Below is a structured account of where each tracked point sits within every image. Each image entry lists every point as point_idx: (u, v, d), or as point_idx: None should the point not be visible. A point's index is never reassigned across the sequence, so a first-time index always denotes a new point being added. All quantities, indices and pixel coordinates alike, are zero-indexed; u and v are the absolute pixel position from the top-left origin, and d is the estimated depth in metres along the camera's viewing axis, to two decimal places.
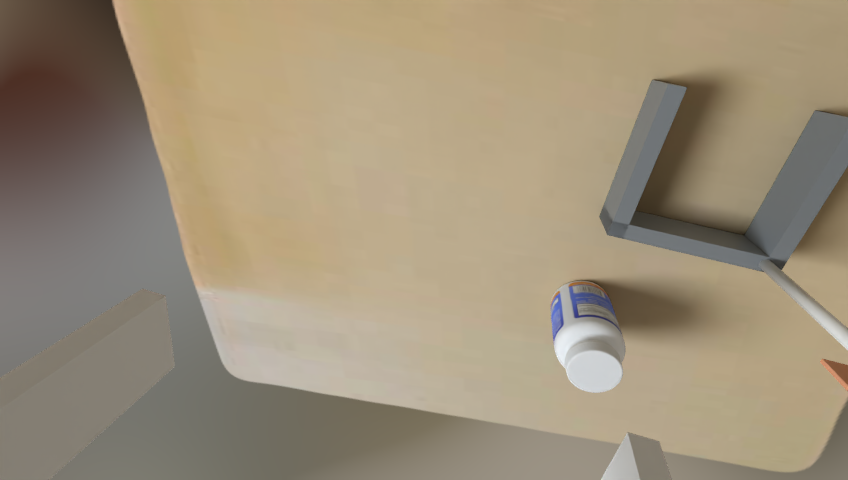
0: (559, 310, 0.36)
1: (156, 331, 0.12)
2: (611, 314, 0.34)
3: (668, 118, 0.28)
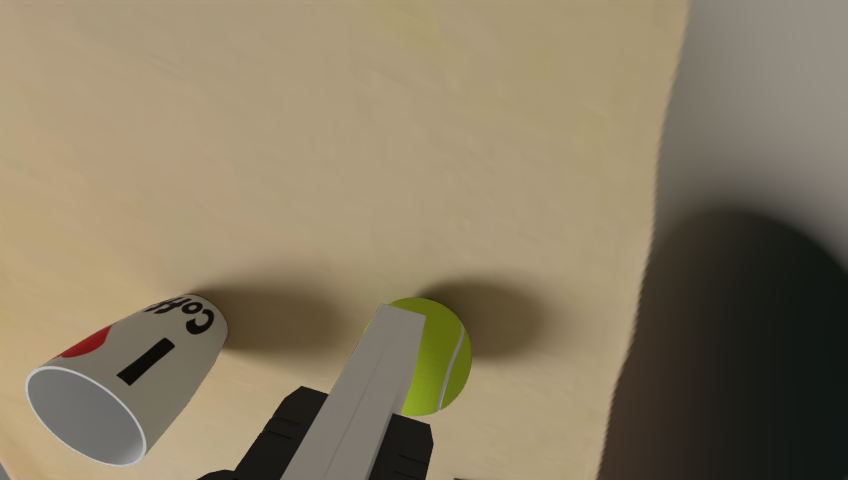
0: None
1: None
2: None
3: None
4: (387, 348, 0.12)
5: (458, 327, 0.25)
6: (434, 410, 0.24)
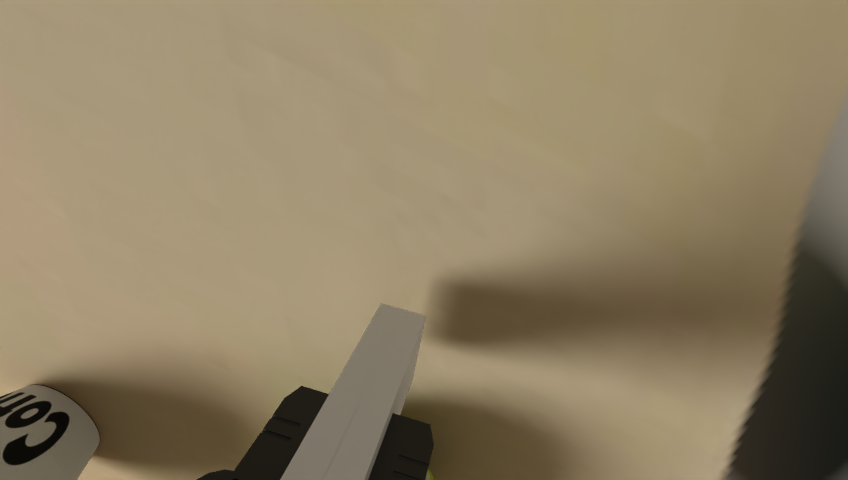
0: None
1: None
2: None
3: None
4: (387, 348, 0.12)
5: None
6: None
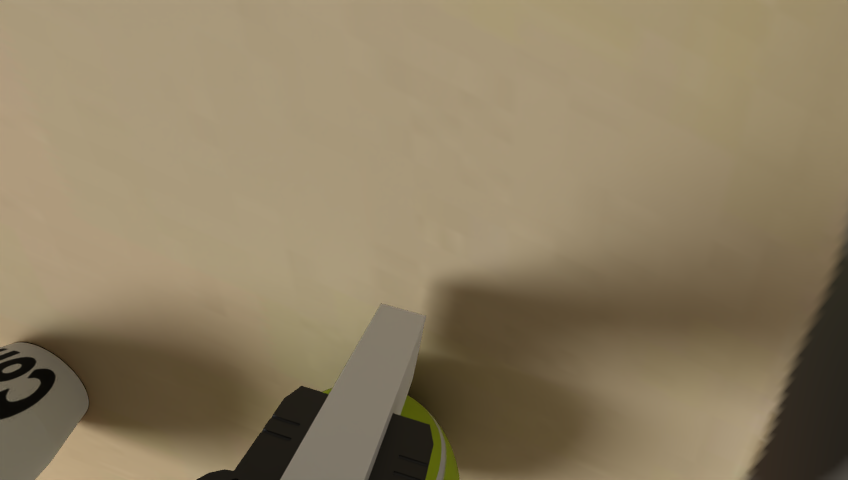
0: None
1: None
2: None
3: None
4: (387, 348, 0.12)
5: (434, 453, 0.13)
6: None
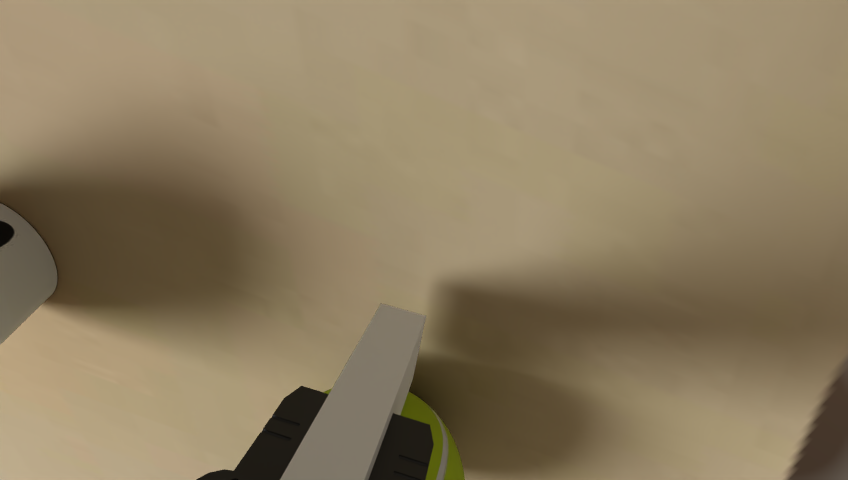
0: None
1: None
2: None
3: None
4: (387, 348, 0.12)
5: (435, 447, 0.13)
6: None
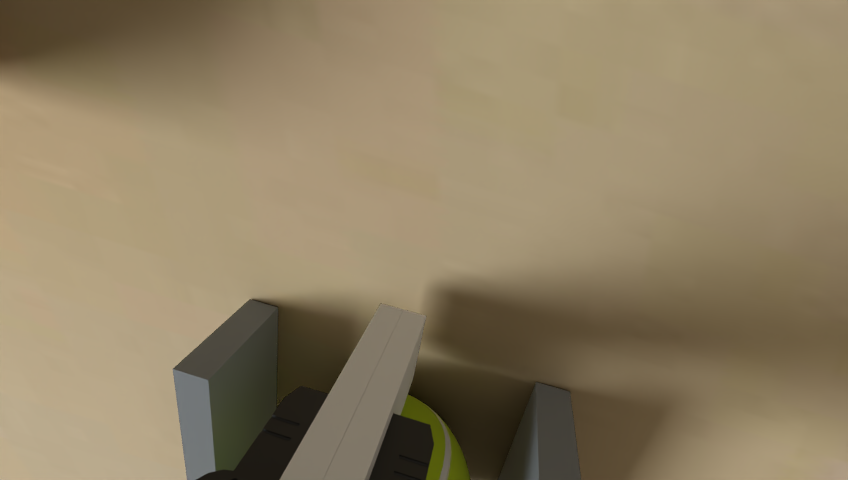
0: None
1: None
2: None
3: (202, 423, 0.14)
4: (388, 348, 0.12)
5: (437, 450, 0.13)
6: None
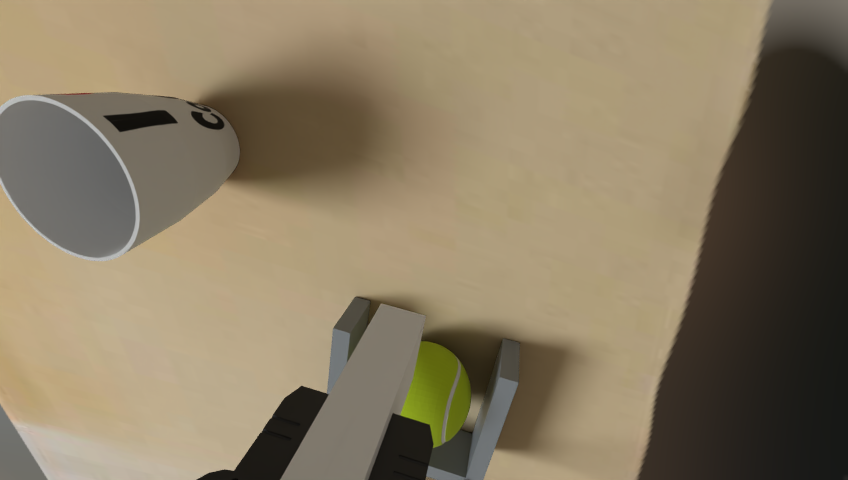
0: None
1: None
2: None
3: (342, 355, 0.29)
4: (387, 348, 0.12)
5: (454, 365, 0.28)
6: (440, 443, 0.27)
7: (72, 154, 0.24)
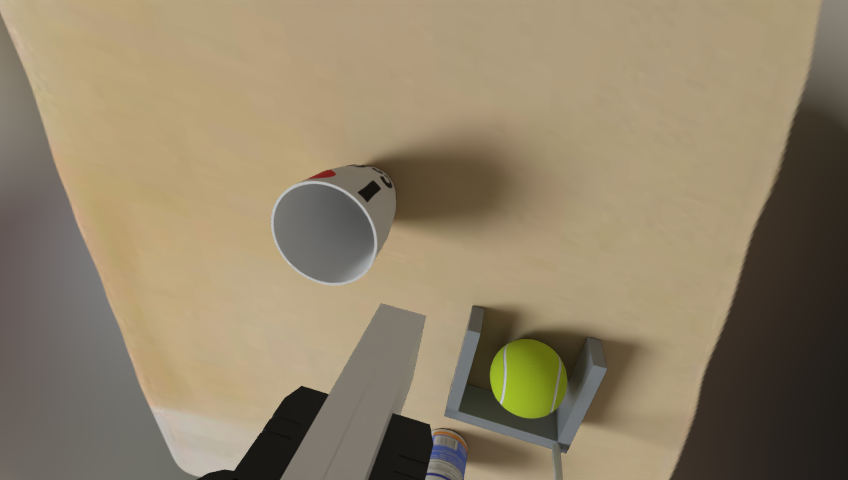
0: None
1: None
2: (454, 469, 0.45)
3: (472, 350, 0.39)
4: (387, 348, 0.12)
5: (556, 357, 0.38)
6: (548, 413, 0.37)
7: (300, 208, 0.34)
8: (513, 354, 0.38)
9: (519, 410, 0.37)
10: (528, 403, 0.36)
